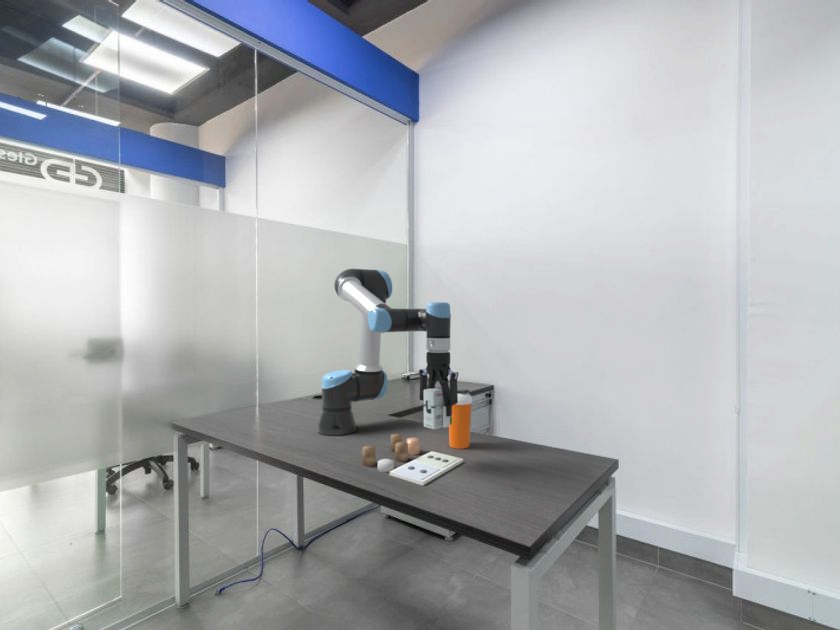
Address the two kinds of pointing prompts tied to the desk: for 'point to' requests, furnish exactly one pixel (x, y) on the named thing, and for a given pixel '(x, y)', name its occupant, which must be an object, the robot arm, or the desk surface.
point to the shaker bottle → (461, 421)
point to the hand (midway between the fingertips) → (438, 424)
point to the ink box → (434, 408)
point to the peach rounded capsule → (413, 446)
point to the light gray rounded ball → (385, 465)
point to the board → (426, 467)
